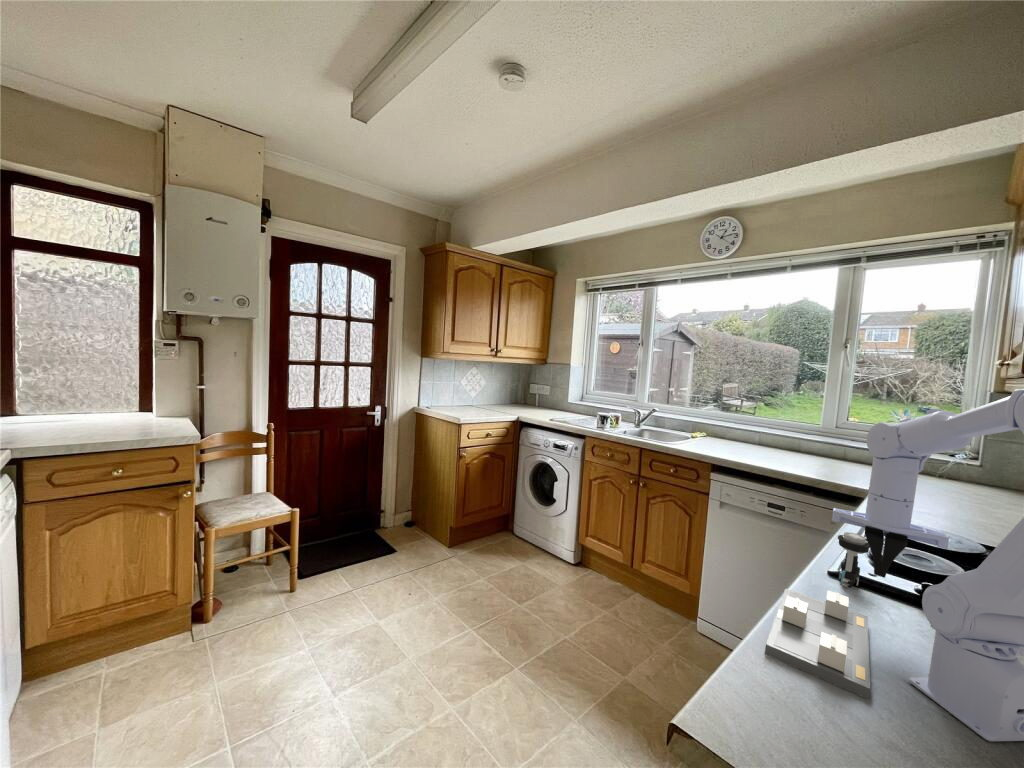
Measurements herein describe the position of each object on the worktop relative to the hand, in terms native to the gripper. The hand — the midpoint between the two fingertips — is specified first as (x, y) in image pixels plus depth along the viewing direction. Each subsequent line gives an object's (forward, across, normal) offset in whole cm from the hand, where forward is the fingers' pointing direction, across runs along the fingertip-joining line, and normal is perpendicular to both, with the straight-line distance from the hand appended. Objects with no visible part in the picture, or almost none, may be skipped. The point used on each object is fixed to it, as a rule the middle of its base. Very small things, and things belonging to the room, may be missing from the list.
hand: (879, 574), depth 72 cm
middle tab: (+8, +10, +11) cm, 17 cm away
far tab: (+8, +5, +3) cm, 10 cm away
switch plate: (+9, +7, +11) cm, 16 cm away
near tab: (+8, +5, +19) cm, 21 cm away
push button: (+10, +4, -16) cm, 19 cm away
